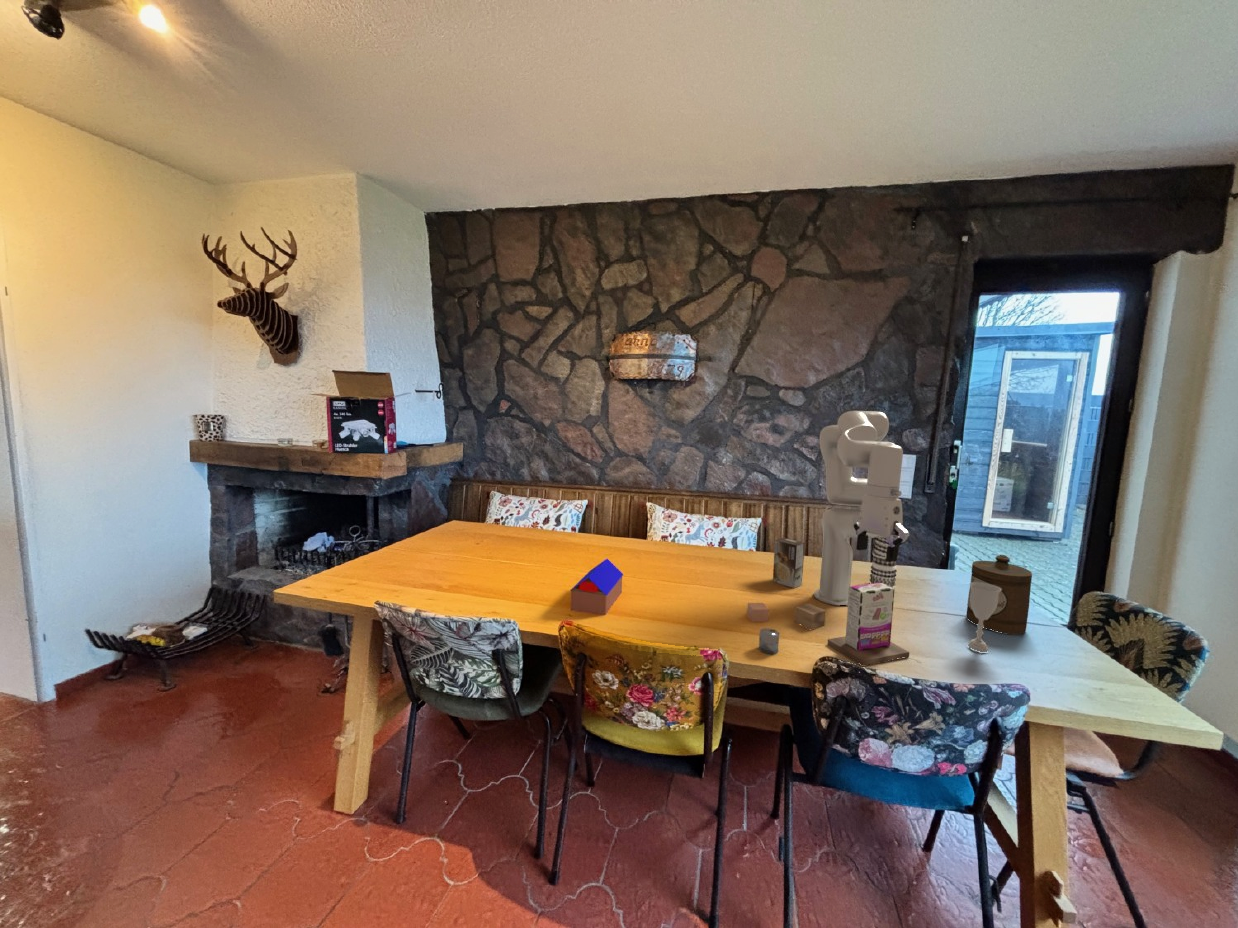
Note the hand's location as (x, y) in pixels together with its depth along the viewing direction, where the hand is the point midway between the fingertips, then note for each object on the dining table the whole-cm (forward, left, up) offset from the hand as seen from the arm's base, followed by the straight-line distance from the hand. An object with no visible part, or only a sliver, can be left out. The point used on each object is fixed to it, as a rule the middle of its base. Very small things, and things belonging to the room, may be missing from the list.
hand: (876, 555), depth 130 cm
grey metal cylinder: (+26, -8, -27) cm, 38 cm away
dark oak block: (+4, -18, -27) cm, 32 cm away
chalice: (-31, +8, -27) cm, 42 cm away
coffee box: (-12, -49, -27) cm, 57 cm away
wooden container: (-53, -2, -27) cm, 59 cm away
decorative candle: (-45, -37, -27) cm, 64 cm away
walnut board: (0, 0, -27) cm, 27 cm away
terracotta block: (+17, -26, -27) cm, 41 cm away
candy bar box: (0, 0, -25) cm, 25 cm away
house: (+61, -51, -27) cm, 84 cm away
